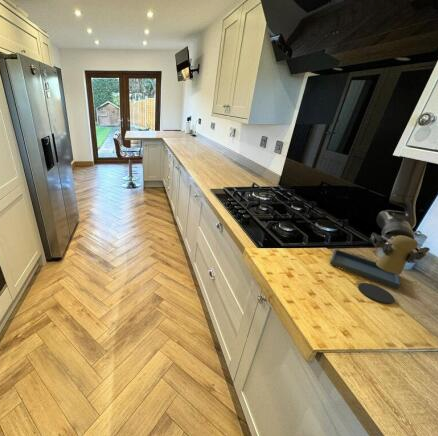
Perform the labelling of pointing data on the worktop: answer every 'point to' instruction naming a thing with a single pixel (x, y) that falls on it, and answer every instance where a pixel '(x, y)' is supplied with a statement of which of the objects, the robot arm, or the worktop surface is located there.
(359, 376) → the worktop surface
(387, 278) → the tray
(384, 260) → the cork
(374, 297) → the coaster
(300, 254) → the worktop surface
